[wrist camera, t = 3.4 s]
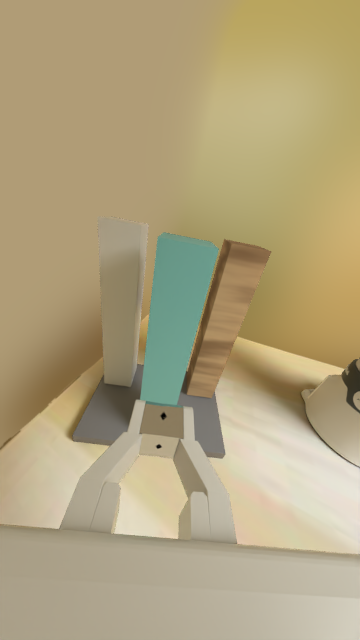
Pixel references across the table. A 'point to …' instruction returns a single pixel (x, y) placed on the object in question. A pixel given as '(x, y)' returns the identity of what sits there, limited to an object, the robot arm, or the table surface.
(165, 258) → the teal post
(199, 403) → the board
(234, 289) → the walnut post
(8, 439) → the table surface
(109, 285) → the cream post
